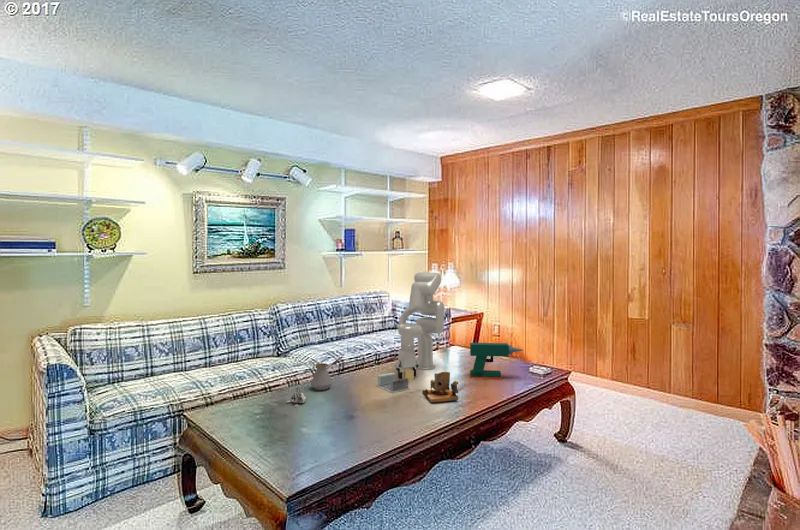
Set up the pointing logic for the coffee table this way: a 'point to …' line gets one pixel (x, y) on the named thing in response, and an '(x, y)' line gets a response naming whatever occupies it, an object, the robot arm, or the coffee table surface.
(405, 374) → the brass block
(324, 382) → the coffee pot
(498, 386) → the coffee table surface
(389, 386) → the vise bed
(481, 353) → the power tool
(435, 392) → the armchair
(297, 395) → the grey craggy lump
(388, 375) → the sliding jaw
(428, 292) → the robot arm
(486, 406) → the coffee table surface
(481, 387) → the coffee table surface
